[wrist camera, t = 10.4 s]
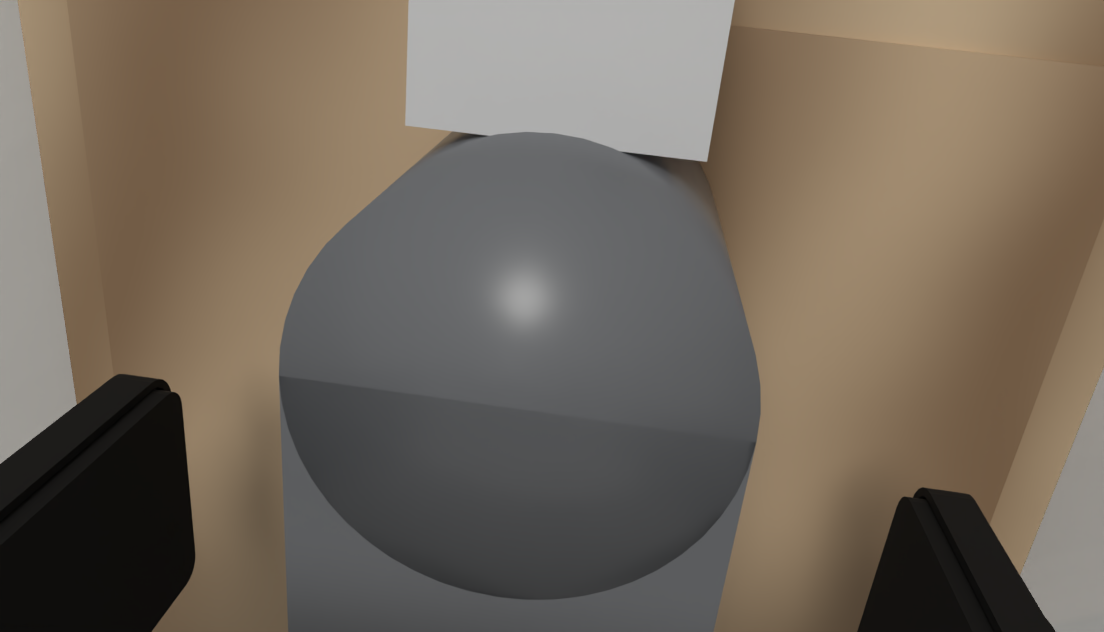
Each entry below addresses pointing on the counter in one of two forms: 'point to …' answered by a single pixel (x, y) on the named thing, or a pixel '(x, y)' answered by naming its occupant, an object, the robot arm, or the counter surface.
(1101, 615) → the counter surface
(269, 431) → the board
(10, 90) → the counter surface
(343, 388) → the usb stick
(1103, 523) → the counter surface
